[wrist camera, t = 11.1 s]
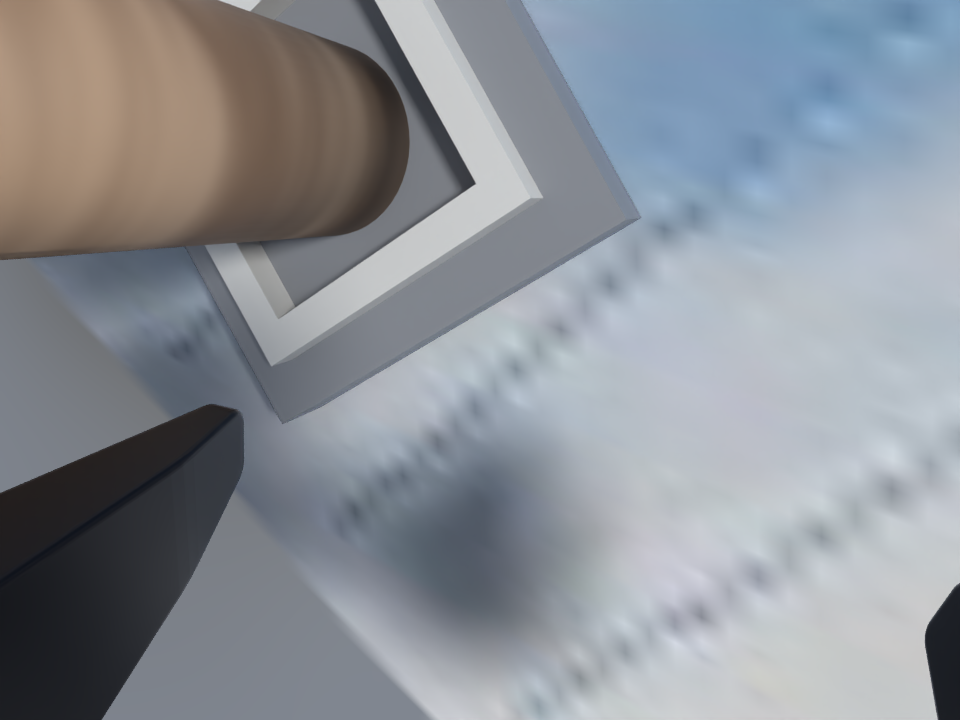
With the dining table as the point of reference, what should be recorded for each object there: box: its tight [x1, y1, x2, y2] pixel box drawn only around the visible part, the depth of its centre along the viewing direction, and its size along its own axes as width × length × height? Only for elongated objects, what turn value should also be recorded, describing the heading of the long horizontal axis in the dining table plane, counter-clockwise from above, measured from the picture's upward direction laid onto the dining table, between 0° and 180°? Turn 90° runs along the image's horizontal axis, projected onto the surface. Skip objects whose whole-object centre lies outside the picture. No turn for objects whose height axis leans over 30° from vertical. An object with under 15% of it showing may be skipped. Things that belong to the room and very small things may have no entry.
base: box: [185, 0, 641, 424], centre depth 21 cm, size 12×12×3 cm
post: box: [0, 0, 410, 260], centre depth 14 cm, size 5×5×14 cm
